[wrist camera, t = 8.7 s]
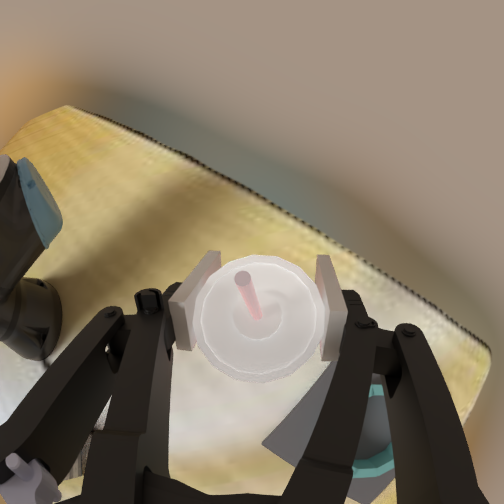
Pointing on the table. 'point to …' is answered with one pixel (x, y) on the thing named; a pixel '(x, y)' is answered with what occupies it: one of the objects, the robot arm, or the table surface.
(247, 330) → the beverage cup
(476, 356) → the table surface
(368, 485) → the cup holder
